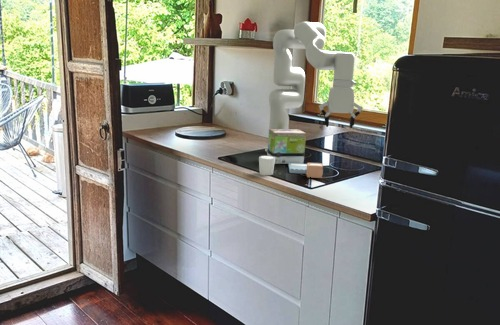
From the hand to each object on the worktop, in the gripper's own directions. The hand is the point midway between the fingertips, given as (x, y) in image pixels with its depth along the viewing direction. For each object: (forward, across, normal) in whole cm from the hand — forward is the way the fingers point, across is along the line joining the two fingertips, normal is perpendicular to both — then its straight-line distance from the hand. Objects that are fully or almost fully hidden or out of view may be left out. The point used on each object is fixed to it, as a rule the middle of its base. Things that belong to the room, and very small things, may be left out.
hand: (338, 126), depth 186 cm
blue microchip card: (+21, +12, -9) cm, 26 cm away
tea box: (+21, +20, -23) cm, 37 cm away
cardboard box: (+21, +8, -1) cm, 23 cm away
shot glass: (+21, +28, -1) cm, 36 cm away
